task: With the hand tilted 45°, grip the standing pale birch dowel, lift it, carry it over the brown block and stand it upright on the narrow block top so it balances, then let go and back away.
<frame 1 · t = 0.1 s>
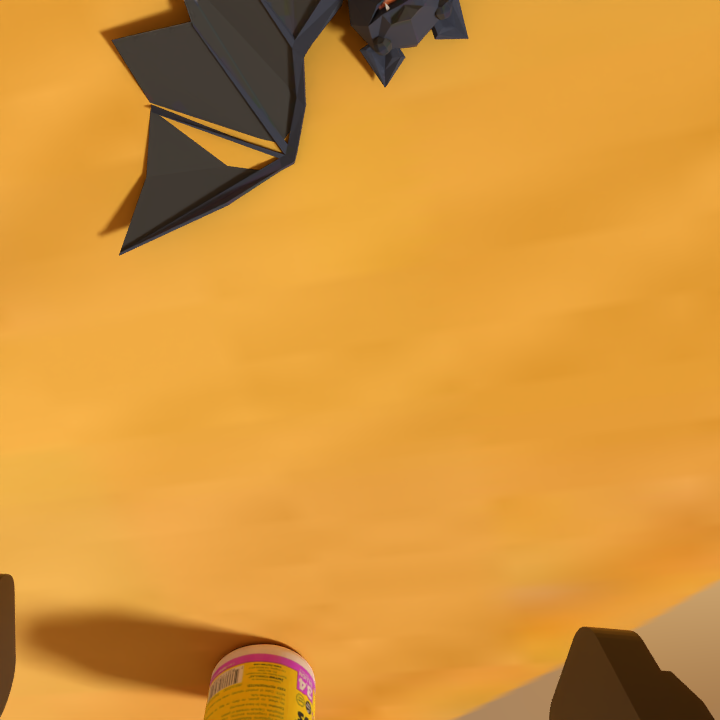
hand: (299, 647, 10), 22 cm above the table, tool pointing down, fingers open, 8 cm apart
supplement bottle: (264, 670, 44), on the table
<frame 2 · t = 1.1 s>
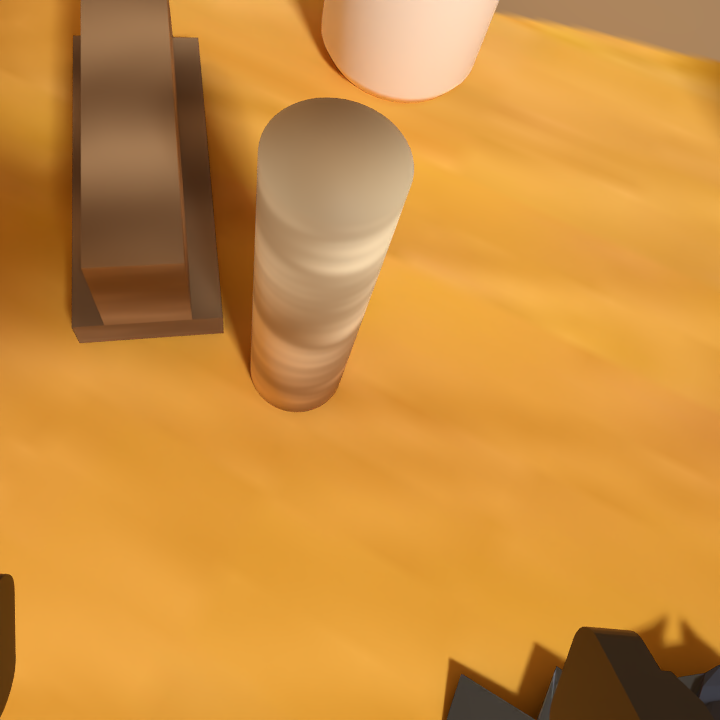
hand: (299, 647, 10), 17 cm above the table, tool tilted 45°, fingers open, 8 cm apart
brown block: (146, 186, 32), on the table
dowel: (296, 369, 30), on the table
alcohol: (395, 53, 39), on the table
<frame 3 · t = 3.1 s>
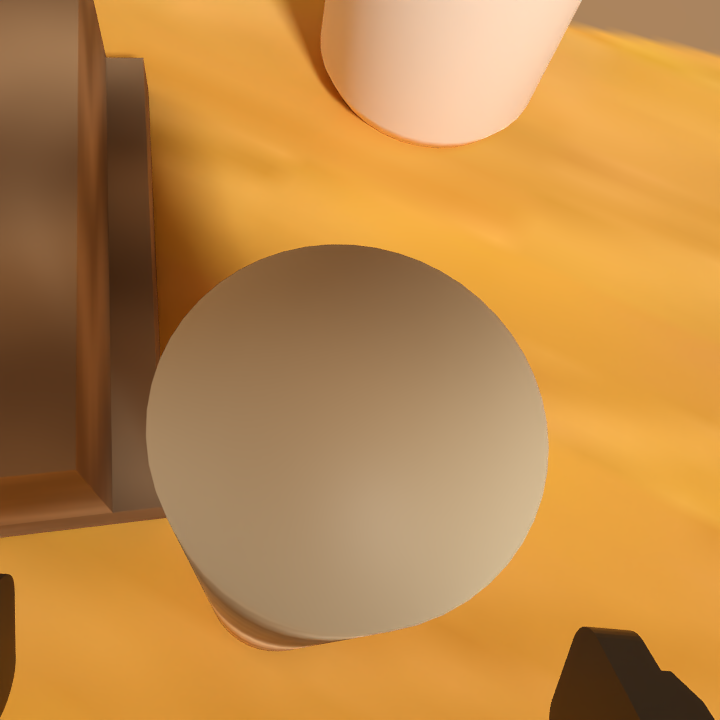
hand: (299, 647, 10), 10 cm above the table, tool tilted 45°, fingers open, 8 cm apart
brown block: (59, 279, 22), on the table
dowel: (279, 574, 19), on the table
alcohol: (422, 77, 28), on the table
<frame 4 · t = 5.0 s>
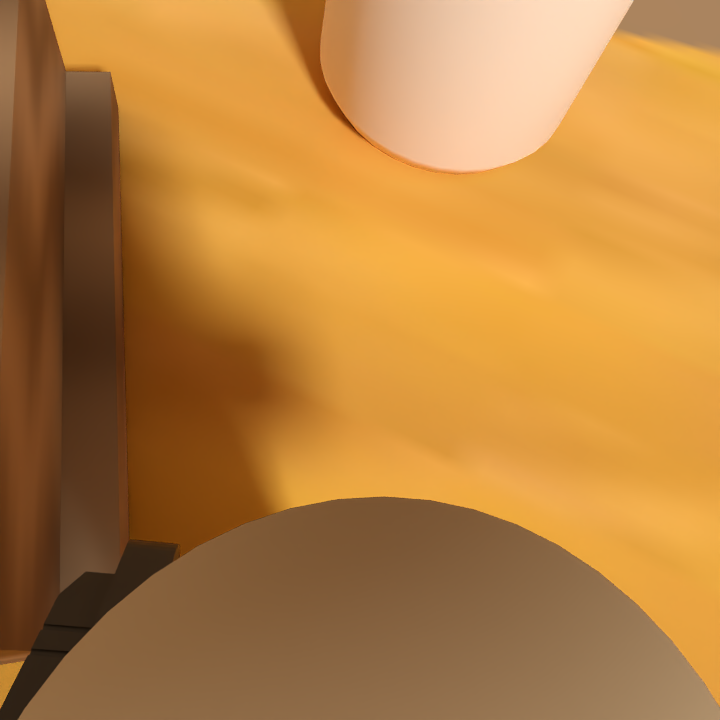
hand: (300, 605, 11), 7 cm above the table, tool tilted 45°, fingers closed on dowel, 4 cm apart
brown block: (6, 341, 18), on the table
dowel: (269, 715, 16), on the table, touching gripper
alcohol: (437, 91, 25), on the table
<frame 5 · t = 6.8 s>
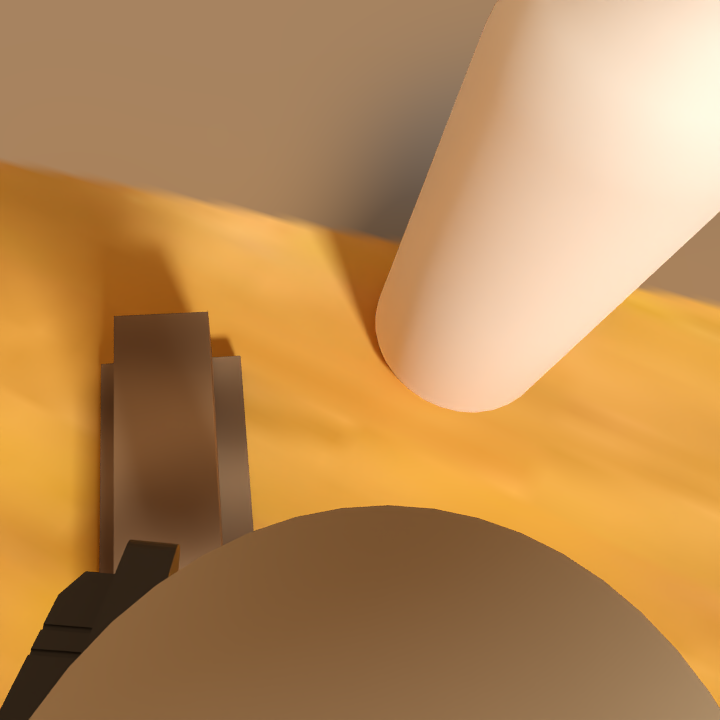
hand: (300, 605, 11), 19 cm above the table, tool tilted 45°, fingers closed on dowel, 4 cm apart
brown block: (181, 547, 29), on the table
dowel: (270, 718, 16), point 13 cm above the table, touching gripper
alcohol: (455, 338, 35), on the table
when the fingers open (13 cm above the table, at t = 8.8 s): dowel stays where it is, resting on brown block.
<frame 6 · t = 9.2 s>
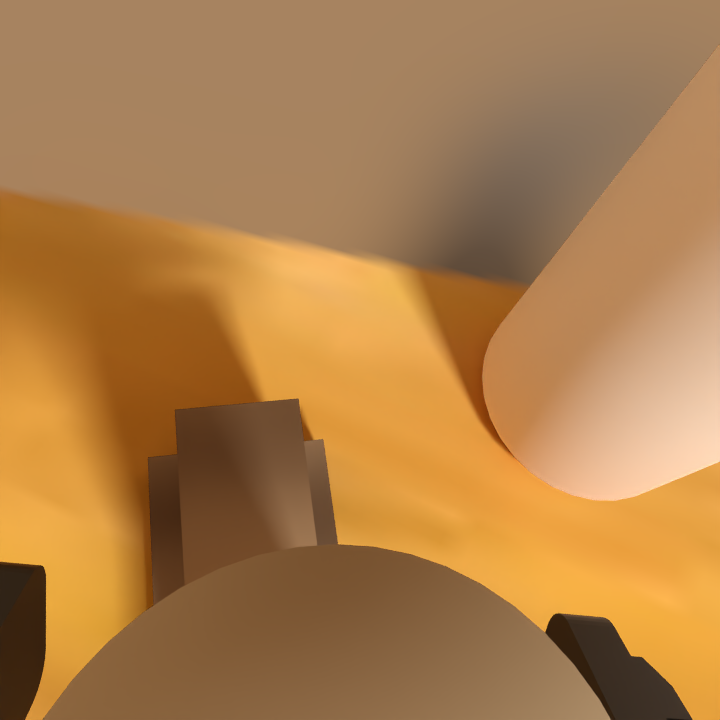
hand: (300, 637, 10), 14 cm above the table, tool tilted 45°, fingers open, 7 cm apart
brown block: (259, 699, 22), on the table
dowel: (269, 718, 16), point 6 cm above the table, touching brown block
alcohol: (574, 401, 28), on the table
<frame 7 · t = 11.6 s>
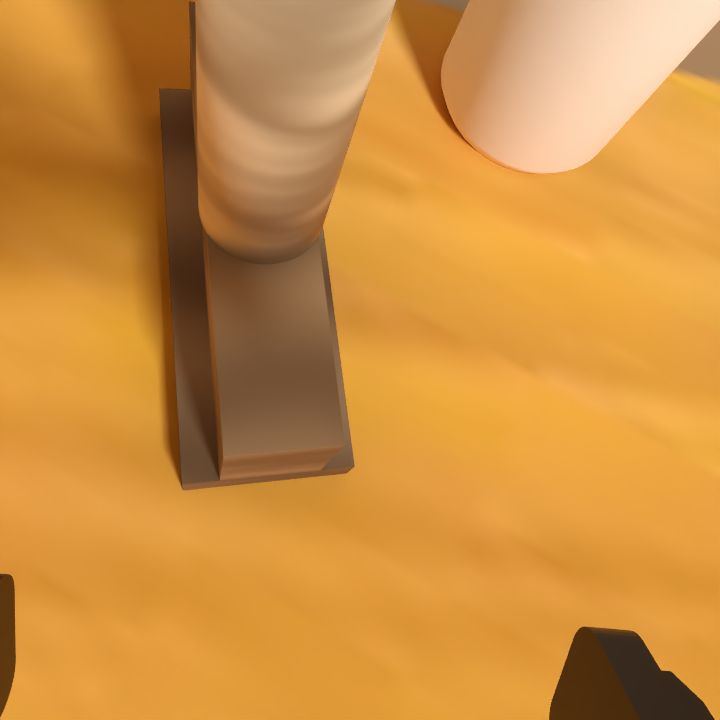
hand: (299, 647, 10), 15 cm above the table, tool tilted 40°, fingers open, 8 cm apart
brown block: (248, 282, 27), on the table
dowel: (262, 207, 22), point 6 cm above the table, touching brown block
alcohol: (518, 108, 34), on the table
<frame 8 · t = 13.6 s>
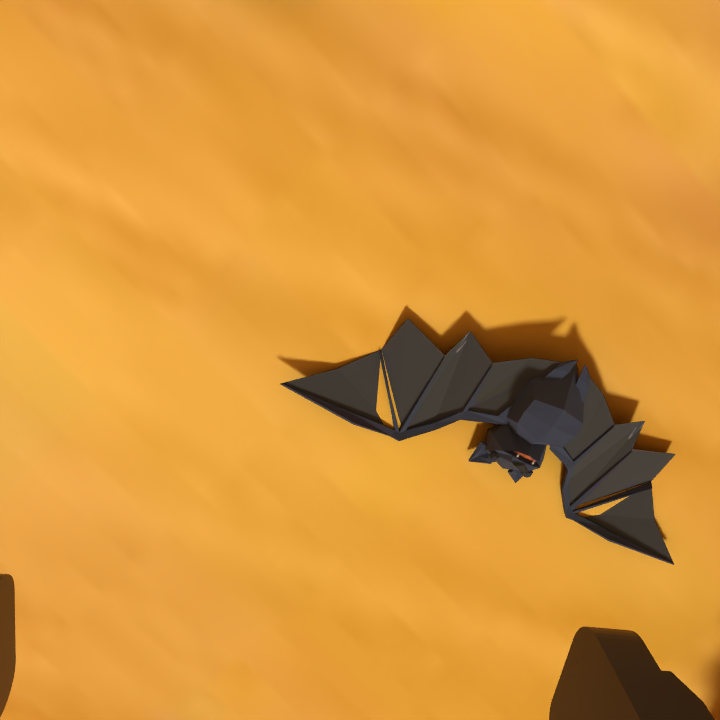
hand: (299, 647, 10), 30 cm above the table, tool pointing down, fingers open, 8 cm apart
decorative bat: (522, 411, 43), on the table
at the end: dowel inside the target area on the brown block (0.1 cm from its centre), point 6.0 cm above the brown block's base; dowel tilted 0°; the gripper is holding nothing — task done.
